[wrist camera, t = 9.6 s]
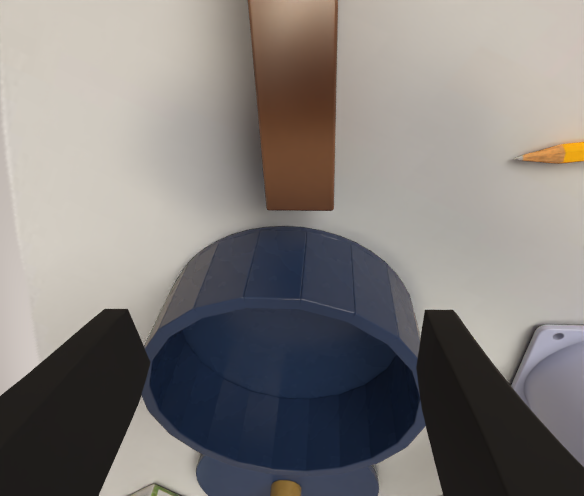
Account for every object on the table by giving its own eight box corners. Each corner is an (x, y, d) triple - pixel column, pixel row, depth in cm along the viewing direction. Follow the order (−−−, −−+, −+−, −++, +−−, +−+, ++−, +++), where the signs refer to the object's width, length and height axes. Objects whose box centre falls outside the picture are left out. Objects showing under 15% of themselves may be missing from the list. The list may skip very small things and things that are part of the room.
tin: (432, 226, 19) (460, 302, 15) (399, 402, 27) (411, 483, 23) (145, 224, 20) (97, 293, 16) (195, 393, 28) (172, 468, 24)
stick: (251, -116, 12) (235, -130, 10) (339, -122, 12) (341, -137, 10) (274, 181, 18) (266, 211, 16) (333, 180, 18) (333, 211, 16)
